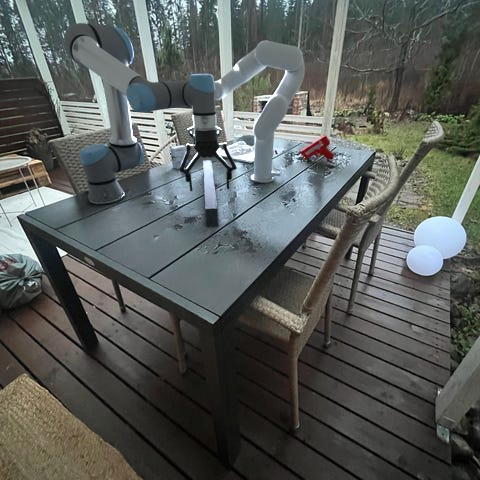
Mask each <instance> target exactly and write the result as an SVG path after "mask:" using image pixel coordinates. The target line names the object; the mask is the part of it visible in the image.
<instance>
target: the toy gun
mask: <svg viewBox="0 0 480 480" xmlns="http://www.w3.org/2000/svg"><path fill="white" fill-rule="evenodd" d="M330 143H331V141H330V139H329V138H328V136H327V135H326V134H325V135H323V136H321V137H320V138H318V139H317V140H315V141H314V142H312V143H311V144H309V145H307V146H306V147H304V148H303V149H301V150H300V151H299V154H300V155H301V157H302V158H303V157H305V158H303V160H305V161H307V160H308V159H309V158H310V157H313V156H315V157H317V158H318V157H320V156H323V157H325V158H326V159H327V162H330V160H328V159H332V160H333V159H334V157H335V153H334V152H332V151H331V150H330V149H329V148H328V146H330Z"/></svg>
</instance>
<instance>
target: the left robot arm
mask: <svg viewBox="0 0 480 480" xmlns="http://www.w3.org/2000/svg"><path fill="white" fill-rule="evenodd" d="M63 45H64V49H65V51H66V53H67V55H68V57H69V58H70V59H71V61H73V62H74V63H75V64H76V65H78V66H79V67H81V68H82V69H85V70H90V71H91V72H92V73H94V74H96V75H97V76H98V77H100V78H101V79H102V85H103V91H104V98H105V102H106V109H107V114H108V121H109V126H110V132H111V136H110V137H109V139H108V142H109V145H107V144H106V143H97V144H91V145H88V146H86V147H83V148H82V149H81V150H80V151H79V153H78V155H79V159H80V164H81V166H82V169H83V172H84V175H85V177H86V181H87V184H88V190H86V191H84V193H85V194H88V196H87V198H88V201H89V203H90V204H91V205H93V206H94V205H95V206H107V205H108V206H109V205H113V204H115V203H119V202H120V201H122V200H123V199H124V198H125V197H126V195H125V191H124V190H123V188H122V187H121V185H120V184H119V182H118V180H117V177H116V174H117V173H121V172H124V171H128V170H130V169H135V168H138V167H139V166H141V165H142V164H143V162H144V158H145V153H144V149H143V148H142V145H141V143H140V142H139V141H137V138H136V137H135V136H133V135H134V134H133V128H132V120H131V110H130V108H131V109H132V110H133V111H135V113H150V112H154V111H155V112H156V111H162V110H169V109H176V108H190V109H192V121H193V126H194V128H196V129H195V130H194V129H193V135H194V134H195V145H194V144H191V143H189V142H187V143H186V145H185V146H186V153H185V156H184V158H183V161H182V164H181V166H180V168H179V173H184V175H185V182H186V183H188V185H189V191H190V192H193V181H192V172H191V170H192V168H193V167H194V166H195V164H196V163H197V162H198V160H199V159H200V158H203V159H205V158H213V157H215V159H217V160H218V161H219V162H220V164H222V166H223V167H224V168H225V177H226V179H225V180H226V190H230V181H232V179H233V171H235V170H238V169H237V165H236V162H235V161H234V159H232V157H231V155H230V153H229V151H228V150H227V146H228V145H227V142H226V141H223V142H221V143H219V142H218V137H217V133H218V130H216V129H215V128H216V127H218V125H217V111H216V110H217V108H216V100H215V85H214V82H215V77H214V76H213V74H210V73H192V74H190V75H189V80H187V81H186V80H176V79H175V80H166V81H150V80H148V79H147V78H145V77H144V76H142V75H141V74H139V73H138V72H137V71H135V70H134V69H132V68H130V67H129V66H130V65H131V64H132V63H133V60H134V57H135V55H134V54H135V53H134V47H133V45H132V41H131V39H130V37H129V36H128V34H127V32H125V31H124V30H123V29H122V28H121V27H118V26H113V25H107V24H93V23H86V22H85V23H84V22H78V23H74V24H71V25H70V26H69V27H68V28H67V29H66V30H65V32H64V36H63ZM219 148H221V149H222V150H224V152H225V154H226V156H227V158H226V159H228V161H229V163H230V164H229V163H228V162H227V161H226V160H225V159H224V157H221V156H220V155H219V153H218V152H217V150H218V149H219ZM193 149H194V150H195V155H194V156H193V158H192V159H191V160H190V162H188V166H186V168H185V164H186V162H187V159H189V156H190V153H191V152H193Z"/></svg>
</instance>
